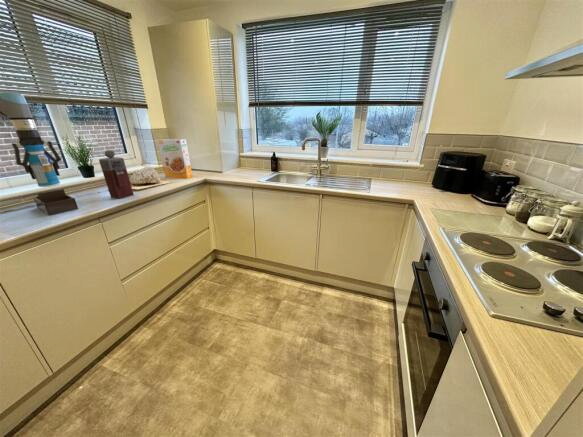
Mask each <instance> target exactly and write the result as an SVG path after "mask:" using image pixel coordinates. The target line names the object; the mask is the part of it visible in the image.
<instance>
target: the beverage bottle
mask: <svg viewBox="0 0 583 437" xmlns="http://www.w3.org/2000/svg"><path fill="white" fill-rule="evenodd" d="M23 149H24V152H25V151H26V150H28V153H29V157H28V165H29V166H30V167H31V169H32V172H33V174H34V176H35V181H36V184H37V186H38V187H40V188H49V187H55V186H59V185H60V184H61V182H60V180H59V176H57V175H56V172H55V170H54V167H53V163H54V162H53V161H52V160H51V159H50V157H49V156H48V155H46V154H45V153H44V151H45V150H46V149H45V146H44V145H28V146H25V147H23ZM44 149H45V150H44Z"/></svg>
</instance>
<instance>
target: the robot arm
mask: <svg viewBox="0 0 583 437" xmlns="http://www.w3.org/2000/svg"><path fill="white" fill-rule="evenodd" d="M0 117H8V118H9V120H10V122H11V124H12V126H13V129H14V130H15V134H16V135H17V138H18V142H14V143H11V144H10V145H11V146H12V148H13V151H14V157H15V163H16V165H17V166H22V167H23V168H24V170H25V173H28V174H29V175H30V177H31V179H32V180H36V178H35V176H34V174H33V172H32V169H31V167H30V166H29V162H28V157H29V153H28V150H26V151H25V150H24V154H23V159H22V160H21V153H20V146H22V147H23V148H24V147H25V146H28V145H43V146H44V145H46V146H47V147H48V148H49V150H50V151H51V153H52V155H51V154H50V153H49V152H48V151H47V150H46V149H45V148H44V150H45V151H44V153H45V154H46V155H48V156H49V157H50V161H51V162H52V163H53V167H54V170H55V172H56V175H57V177H59V176H61V175H60V172H59V170H60V165H59V162H61V161H62V158H61V156H60V155H59V153H58V152H57V150H56V149H55V147H54V146H53V142H52V141H50V140H43V139H42V137H41V134H40V132H39V130H38V127H37V125H36V122H35V120H34V117H33V116H32V112H31V109H30V106H29V103H28V102H27V100H26V98H25V96H24V94H22V93H19V92H7V91H5V92H0Z"/></svg>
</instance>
